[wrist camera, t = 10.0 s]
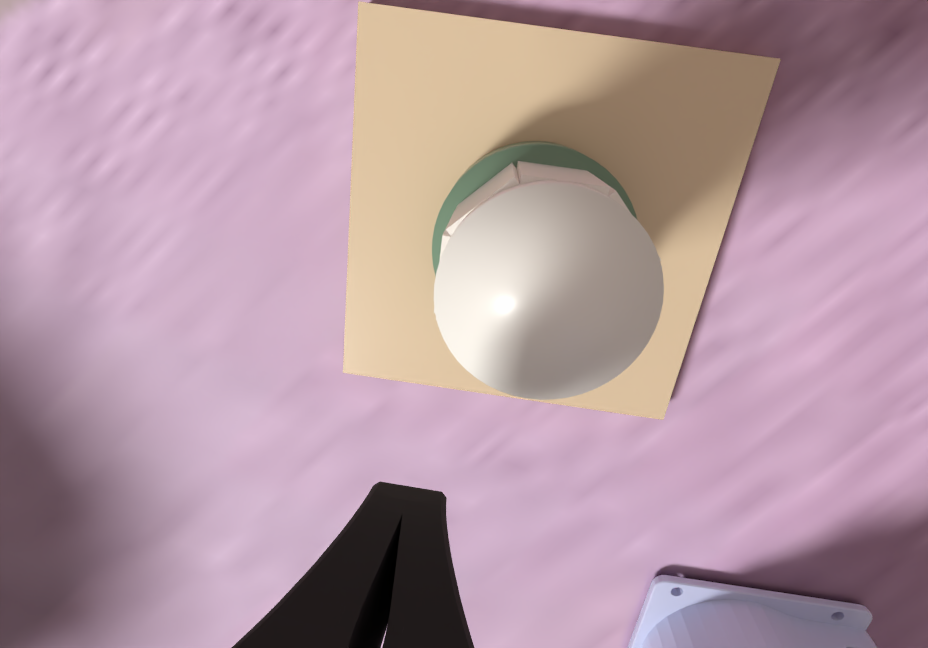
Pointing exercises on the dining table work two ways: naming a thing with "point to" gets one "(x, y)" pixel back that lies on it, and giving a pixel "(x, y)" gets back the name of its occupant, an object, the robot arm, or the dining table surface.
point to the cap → (546, 283)
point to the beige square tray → (543, 142)
